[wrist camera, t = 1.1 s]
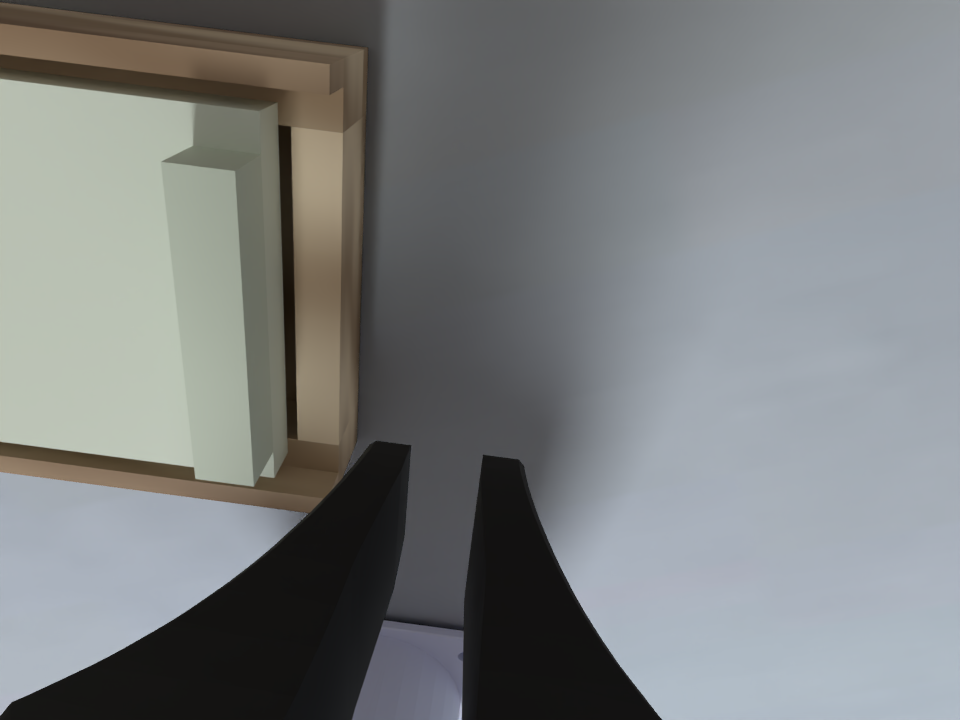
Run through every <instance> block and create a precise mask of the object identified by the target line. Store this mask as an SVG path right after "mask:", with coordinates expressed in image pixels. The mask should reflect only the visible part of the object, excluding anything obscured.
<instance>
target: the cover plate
mask: <svg viewBox="0 0 960 720" xmlns="http://www.w3.org/2000/svg"><path fill="white" fill-rule="evenodd" d="M0 442H7V443H14V444H22V445H29V446H37V447H44V448H52V449H59V450H67V451H74V452H82V453H89V454H97V455H105V456H112V457H120V458H127V459H135V460H142V461H150V462H157V463H165V464H172V465H180V466H187V467H194V471H195V479H200V480H207V481H215V482H222V483H230V484H237V485H245V486H252V487H254V486H255V484H256V482H257V480H258V478H259V477H260V476H263V477H270V478H275V476H276V474H277V472H278V470H279V468H280V466H281V465H282V463H283V461H284V459H285V457H286V455H287V453H288V441H287V407H286V373H285V339H284V305H283V271H282V237H281V203H280V169H279V135H278V102H271V101H263V100H255V99H247V98H239V97H231V96H223V95H215V94H207V93H199V92H191V91H183V90H175V89H167V88H159V87H151V86H143V85H135V84H127V83H119V82H111V81H103V80H95V79H87V78H79V77H71V76H63V75H55V74H47V73H39V72H31V71H23V70H15V69H7V68H0Z"/></svg>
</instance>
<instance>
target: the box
mask: <svg viewBox="0 0 960 720" xmlns="http://www.w3.org/2000/svg"><path fill="white" fill-rule="evenodd" d="M0 68H7V69H15V70H23V71H31V72H39V73H47V74H55V75H63V76H71V77H79V78H87V79H95V80H103V81H111V82H119V83H127V84H135V85H143V86H151V87H159V88H167V89H175V90H183V91H191V92H199V93H207V94H215V95H223V96H231V97H239V98H247V99H255V100H263V101H271V102H278V135H279V169H280V203H281V237H282V271H283V305H284V339H285V373H286V407H287V441H288V453H287V455H286V457H285V459H284V461H283V463H282V465H281V466H280V468H279V470H278V472H277V474H276V476H275V478H270V477H263V476H260V477H259V478H258V480H257V482H256V484H255V486H254V487H252V486H245V485H237V484H230V483H222V482H215V481H207V480H200V479H195V471H194V467H187V466H180V465H172V464H165V463H157V462H150V461H142V460H135V459H127V458H120V457H112V456H105V455H97V454H89V453H82V452H74V451H67V450H59V449H52V448H44V447H37V446H29V445H22V444H14V443H7V442H0V472H5V473H12V474H20V475H28V476H35V477H43V478H50V479H58V480H65V481H73V482H80V483H88V484H95V485H103V486H110V487H118V488H125V489H133V490H140V491H148V492H155V493H163V494H170V495H178V496H185V497H193V498H200V499H208V500H215V501H223V502H230V503H238V504H245V505H253V506H260V507H268V508H275V509H283V510H290V511H298V512H305V513H310V512H311V511H312V510H313V509H314V508H315V507H316V506H317V505H318V504H319V503H320V502H321V501H322V500H323V499H324V497H325V496H326V495H327V494H328V493H329V492H330V491H331V490H332V489H333V488H334V487H335V486H336V485H337V484H338V483H339V481H340V480H341V479H342V478H343V475H344V473H345V470H346V468H347V465H348V463H349V460H350V457H351V455H352V452H353V450H354V447H355V445H356V442H357V424H358V389H359V353H360V318H361V282H362V247H363V211H364V176H365V140H366V105H367V69H368V48H367V47H359V46H351V45H343V44H334V43H326V42H318V41H310V40H302V39H294V38H286V37H278V36H270V35H262V34H254V33H246V32H237V31H229V30H221V29H213V28H205V27H197V26H189V25H181V24H173V23H165V22H157V21H148V20H140V19H132V18H124V17H116V16H108V15H100V14H92V13H84V12H76V11H68V10H60V9H51V8H43V7H35V6H27V5H19V4H11V3H3V2H0Z"/></svg>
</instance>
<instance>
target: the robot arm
mask: <svg viewBox="0 0 960 720" xmlns="http://www.w3.org/2000/svg"><path fill="white" fill-rule="evenodd" d="M410 453H411V445H403V444H396V443H388V442H381V441H375V442H374V443H372V444H371V445H369V447H368V448H367V449H366V450H365V452H364V453H363V454H362V456H361V457H360V458H359V459H358V461H357V462H356V463H355V464H354V465H353V467H352V468H351V469H350V470H349V471H348V472H347V474H346V475H345V476H344V477H343V478H342V479H341V480H340V481H339V483H338V484H337V485H336V486H335V487H334V488H333V489H332V490H331V491H330V492H329V493H328V494H327V495H326V496H325V497H324V499H323V500H322V501H321V502H320V503H319V504H318V505H317V506H316V507H315V508H314V509H313V510H312V511H311V512H310V513H309V514H308V515H307V516H306V517H305V518H304V519H303V520H302V521H301V522H299V523H298V524H297V525H296V526H295V527H294V528H293V529H292V530H291V531H290V532H289V533H287V534H286V535H285V536H284V537H283V538H282V539H281V540H280V541H279V542H278V543H277V544H275V545H274V546H273V547H272V548H271V549H270V550H269V551H267V552H266V553H265V554H264V555H263V556H261V557H260V558H259V559H258V560H257V561H255V562H254V563H253V564H252V565H250V566H249V567H248V568H247V569H245V570H244V571H243V572H241V573H240V574H239V575H237V576H236V577H235V578H233V579H232V580H231V581H230V582H228V583H227V584H225V585H224V586H223V587H221V588H220V589H218V590H217V591H215V592H214V593H213V594H211V595H210V596H208V597H207V598H205V599H204V600H202V601H201V602H200V603H198V604H197V605H195V606H194V607H192V608H191V609H189V610H188V611H186V612H185V613H183V614H182V615H180V616H178V617H177V618H175V619H174V620H172V621H171V622H169V623H167V624H166V625H164V626H162V627H160V628H159V629H157V630H155V631H154V632H152V633H150V634H148V635H147V636H145V637H143V638H141V639H140V640H138V641H136V642H134V643H133V644H131V645H129V646H127V647H126V648H124V649H122V650H120V651H118V652H117V653H115V654H113V655H111V656H109V657H107V658H105V659H103V660H101V661H99V662H97V663H95V664H93V665H92V666H90V667H87V668H85V669H83V670H81V671H79V672H77V673H75V674H73V675H70V676H68V677H66V678H64V679H62V680H60V681H58V682H55V683H53V684H51V685H49V686H47V687H45V688H43V689H41V690H38V691H36V692H34V693H32V694H30V695H28V696H25V697H23V698H21V699H18V700H16V701H14V702H12V703H11V704H10V705H9V706H8V707H7V709H6V710H5V711H4V712H3V714H2V715H1V716H0V720H662V719H661V718H660V717H659V716H658V714H657V713H656V712H655V711H654V709H653V708H652V707H651V705H650V704H649V703H648V702H647V700H646V699H645V698H644V696H643V695H642V694H641V693H640V691H639V690H638V689H637V687H636V686H635V685H634V684H633V682H632V681H631V680H630V678H629V677H628V676H627V675H626V673H625V672H624V671H623V669H622V668H621V667H620V665H619V664H618V663H617V661H616V660H615V658H614V657H613V655H612V654H611V652H610V651H609V649H608V648H607V646H606V645H605V644H604V642H603V641H602V639H601V638H600V636H599V634H598V633H597V631H596V630H595V628H594V627H593V625H592V623H591V622H590V620H589V619H588V617H587V615H586V614H585V612H584V610H583V608H582V607H581V605H580V603H579V602H578V600H577V598H576V596H575V594H574V593H573V591H572V589H571V587H570V585H569V583H568V581H567V579H566V577H565V575H564V573H563V571H562V570H561V568H560V565H559V563H558V561H557V559H556V557H555V555H554V553H553V550H552V548H551V546H550V543H549V541H548V539H547V536H546V534H545V532H544V529H543V527H542V525H541V522H540V520H539V517H538V514H537V512H536V509H535V506H534V503H533V500H532V497H531V494H530V491H529V487H528V483H527V479H526V475H525V470H524V466H523V464H522V463H521V462H520V461H519V460H517V459H510V458H502V457H495V456H487V455H483V460H482V467H481V475H480V482H479V490H478V497H477V505H476V512H475V519H474V527H473V534H472V542H471V550H470V558H469V566H468V574H467V582H466V590H465V598H464V631H460V630H453V629H446V628H438V627H431V626H423V625H416V624H409V623H401V622H394V621H386V620H384V618H385V615H386V611H387V608H388V605H389V602H390V599H391V596H392V593H393V589H394V585H395V580H396V575H397V571H398V566H399V561H400V556H401V551H402V546H403V541H404V535H405V522H406V508H407V494H408V481H409V467H410Z"/></svg>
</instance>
